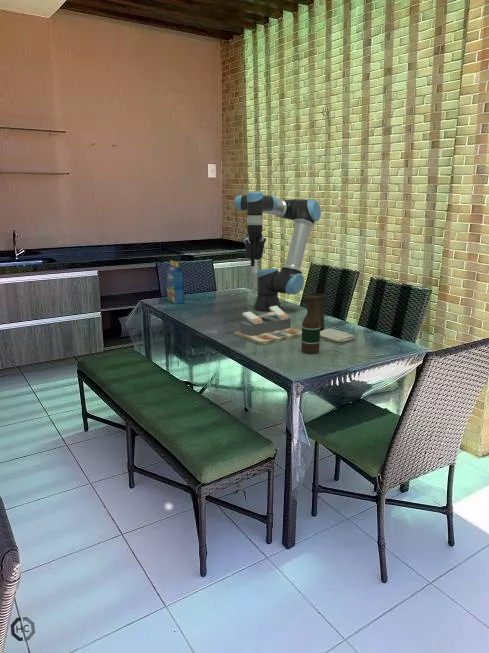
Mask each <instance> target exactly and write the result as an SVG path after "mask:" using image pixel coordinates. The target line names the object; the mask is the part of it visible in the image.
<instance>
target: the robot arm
mask: <svg viewBox="0 0 489 653" xmlns="http://www.w3.org/2000/svg"><path fill="white" fill-rule="evenodd" d="M233 203H234V208H235V209H236V210H238V211H247V212H246V216H247V217H246V223H247V225H246V233H247V235H246V238H244V239H242V242H243V244H244V248H245V253H246V256H247V257H246V258H247V259H249V260H250V266H251V273H254V274H257V278H256V279H257V296H256V299H255V302H254V305H253V306H254V309H253V310H255V311H259V312H265V313H267V312H272V311H271V310H270V309H269V308H270V307H272V306H278V307H279V308H280V309H281V310H282V308H281V307H282V306H281V302H280V299H279V294H286V295H298V294H299V293H300V292H301V290H302V289H303V287H304V284H305V278H304V275H303V271H302V269H301V266H302V261H303V258H304V256H305V251H306V247H307V243H308V239H309V234H310V232H311V229H312V228H313V227H314V225H315V222H318V221H319V220H320V219H321V216H322V215H321V214H322V210H321V206H320V203H319V202H318V201H317V200H316V199H309V198H308V199H307V198H306V199H303V198H302V199H295V198H292V199H291V198H290V199H278V198H277V197H276V196H275V195H271V194H267V195H264V193H263V191H261V190H260V191H254V190H253V191H252V190H251V191H248V192H247V193H246V195H245V194H241V195H240V194H239V195H237V196H236V197H235V198H234V202H233ZM263 214H268V215H274V216H275V217H276V218H281V219H285V220H290V221H293V223H294V228H293V233H292V237H291V241H290V244H289V248H288V252H287V255H286V260H285V264H284V265H283V266H282V267H281V269H280V271H279V268H278V267H277V268H276V267H275V268H274V267H273V268H263V269H260V270H258V266H259V260H261V259H262V258H263V254H264V248H265V243H266V241H267V237H264V236H263V222H264V220H263V217H264V216H263Z"/></svg>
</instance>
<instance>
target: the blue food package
mask: <svg viewBox="0 0 489 653" xmlns="http://www.w3.org/2000/svg"><path fill="white" fill-rule="evenodd" d="M184 276H185V275H184V272H183V270H182V269H181V268H180V267H179V262H178V261H174V260H172V259H171V260H170V264H169V266H168V268H167V269H166V291H167V293H166V294H167V296H166V297H167V302H170V303H171V304H173V305H181V304H185V285H184V284H185V280H184V278H185V277H184Z"/></svg>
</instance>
